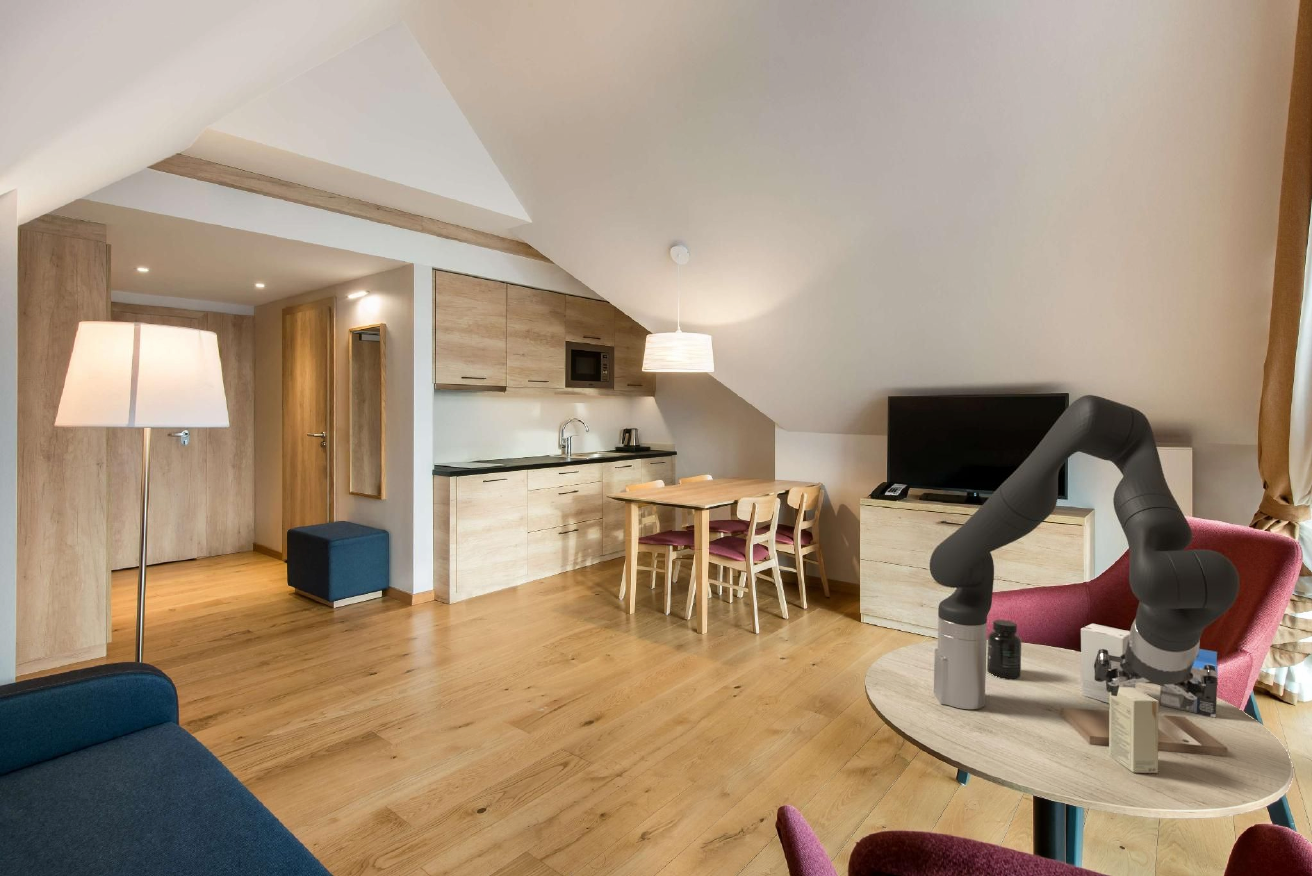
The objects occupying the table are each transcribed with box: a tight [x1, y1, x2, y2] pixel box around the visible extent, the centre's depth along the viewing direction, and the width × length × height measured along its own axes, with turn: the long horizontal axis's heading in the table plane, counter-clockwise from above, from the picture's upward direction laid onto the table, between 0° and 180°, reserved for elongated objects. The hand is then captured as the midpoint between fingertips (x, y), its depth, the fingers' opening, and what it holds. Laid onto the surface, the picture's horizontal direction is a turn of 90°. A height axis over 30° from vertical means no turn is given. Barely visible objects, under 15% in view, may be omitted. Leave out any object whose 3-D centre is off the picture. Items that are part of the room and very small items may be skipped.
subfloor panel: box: [1060, 706, 1228, 756], centre depth 122 cm, size 22×12×2 cm, turn 80°
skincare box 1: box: [1080, 623, 1136, 704], centre depth 137 cm, size 8×6×15 cm
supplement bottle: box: [986, 619, 1022, 680], centre depth 150 cm, size 7×7×12 cm
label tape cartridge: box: [1159, 648, 1219, 718], centre depth 133 cm, size 9×4×12 cm, turn 51°
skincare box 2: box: [1108, 687, 1160, 774], centre depth 111 cm, size 6×4×12 cm
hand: (1146, 696), depth 101 cm, fingers open, 8 cm apart
